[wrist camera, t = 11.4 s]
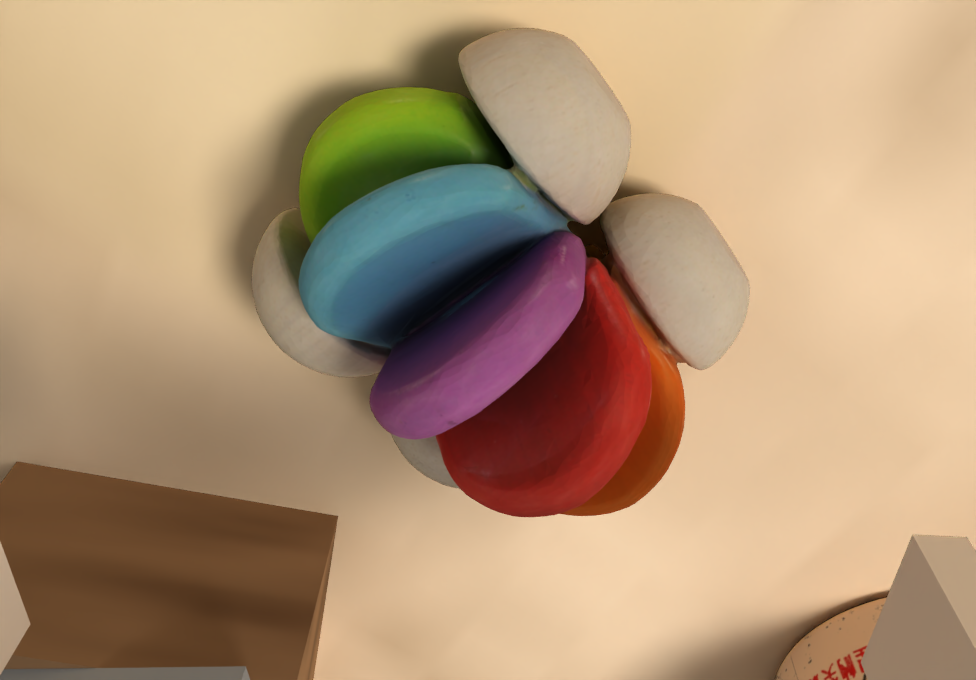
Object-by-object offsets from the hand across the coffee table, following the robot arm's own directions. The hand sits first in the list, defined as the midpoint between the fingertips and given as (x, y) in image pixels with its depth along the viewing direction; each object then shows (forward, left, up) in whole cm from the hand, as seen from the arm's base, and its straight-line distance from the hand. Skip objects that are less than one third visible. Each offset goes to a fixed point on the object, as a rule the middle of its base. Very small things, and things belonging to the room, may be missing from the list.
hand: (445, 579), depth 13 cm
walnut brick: (+12, -9, -9) cm, 17 cm away
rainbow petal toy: (-1, +1, -10) cm, 9 cm away
